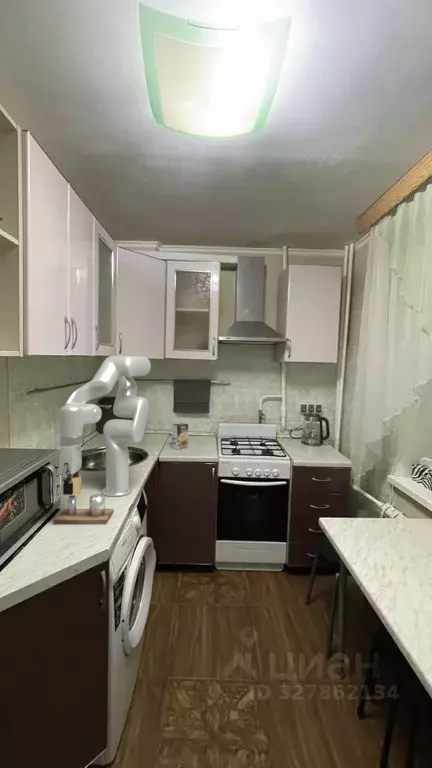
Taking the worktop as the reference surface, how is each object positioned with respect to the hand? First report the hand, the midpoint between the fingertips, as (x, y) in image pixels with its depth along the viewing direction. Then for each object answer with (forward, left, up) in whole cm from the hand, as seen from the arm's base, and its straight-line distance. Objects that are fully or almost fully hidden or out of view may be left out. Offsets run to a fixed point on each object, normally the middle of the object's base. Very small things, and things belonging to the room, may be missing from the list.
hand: (71, 490), depth 132 cm
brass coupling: (0, 0, -1) cm, 1 cm away
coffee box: (-116, +31, -10) cm, 120 cm away
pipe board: (0, +5, -10) cm, 11 cm away
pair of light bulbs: (0, +5, -9) cm, 10 cm away
